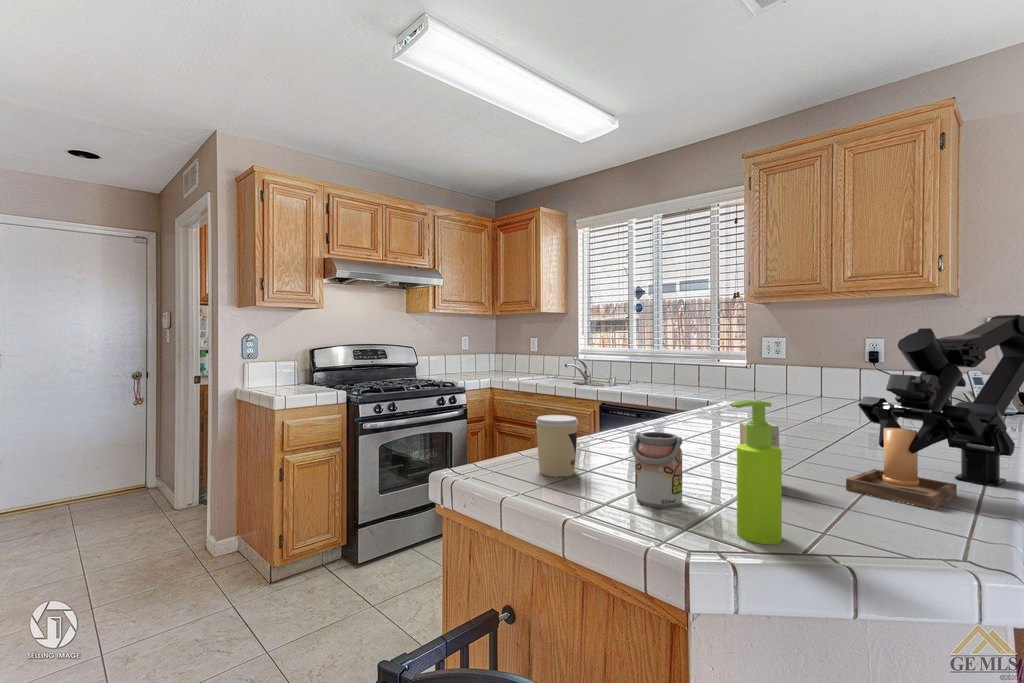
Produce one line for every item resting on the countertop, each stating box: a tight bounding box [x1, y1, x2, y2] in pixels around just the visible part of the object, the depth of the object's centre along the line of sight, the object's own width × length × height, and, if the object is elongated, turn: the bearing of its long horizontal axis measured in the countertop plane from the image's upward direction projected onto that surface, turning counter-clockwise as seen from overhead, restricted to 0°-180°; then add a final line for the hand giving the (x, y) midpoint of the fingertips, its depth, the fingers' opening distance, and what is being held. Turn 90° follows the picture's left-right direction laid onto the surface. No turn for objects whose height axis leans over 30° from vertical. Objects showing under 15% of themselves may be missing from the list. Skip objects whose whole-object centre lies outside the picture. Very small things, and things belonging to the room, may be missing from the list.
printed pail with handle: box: [631, 431, 683, 509], centre depth 86 cm, size 9×8×12 cm
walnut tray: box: [845, 468, 958, 510], centre depth 92 cm, size 13×13×2 cm
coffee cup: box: [535, 414, 579, 478], centre depth 107 cm, size 9×9×12 cm
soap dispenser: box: [729, 399, 783, 545], centre depth 71 cm, size 6×7×20 cm
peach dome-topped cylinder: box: [883, 427, 919, 487], centre depth 92 cm, size 5×5×10 cm
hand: (895, 448), depth 91 cm, fingers closed on peach dome-topped cylinder, 5 cm apart
